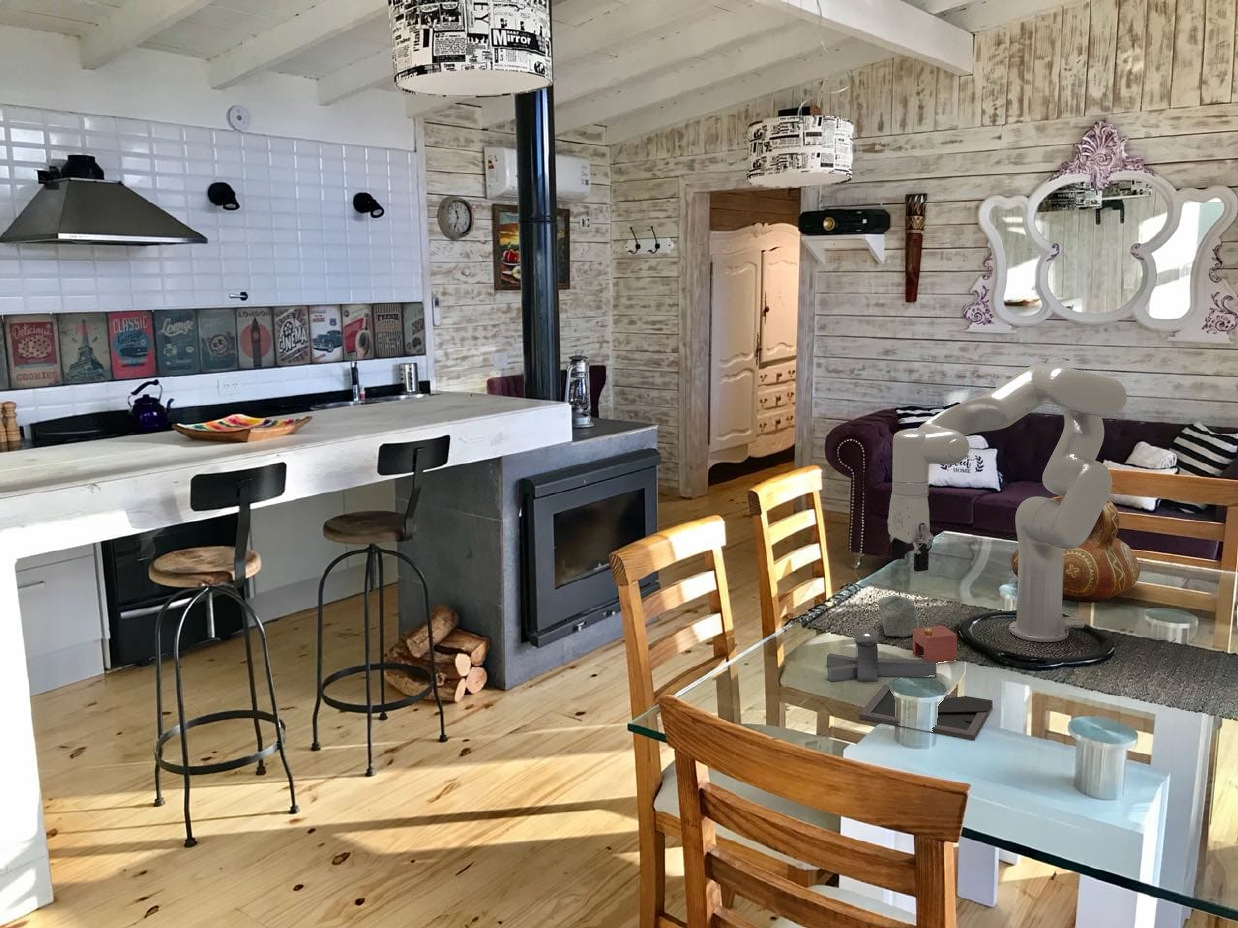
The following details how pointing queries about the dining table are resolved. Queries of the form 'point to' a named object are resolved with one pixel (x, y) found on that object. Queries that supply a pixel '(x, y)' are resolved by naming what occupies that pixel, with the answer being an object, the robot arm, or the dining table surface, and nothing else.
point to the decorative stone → (898, 616)
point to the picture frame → (953, 713)
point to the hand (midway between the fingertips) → (909, 564)
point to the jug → (1097, 562)
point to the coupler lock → (935, 643)
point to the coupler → (874, 662)
